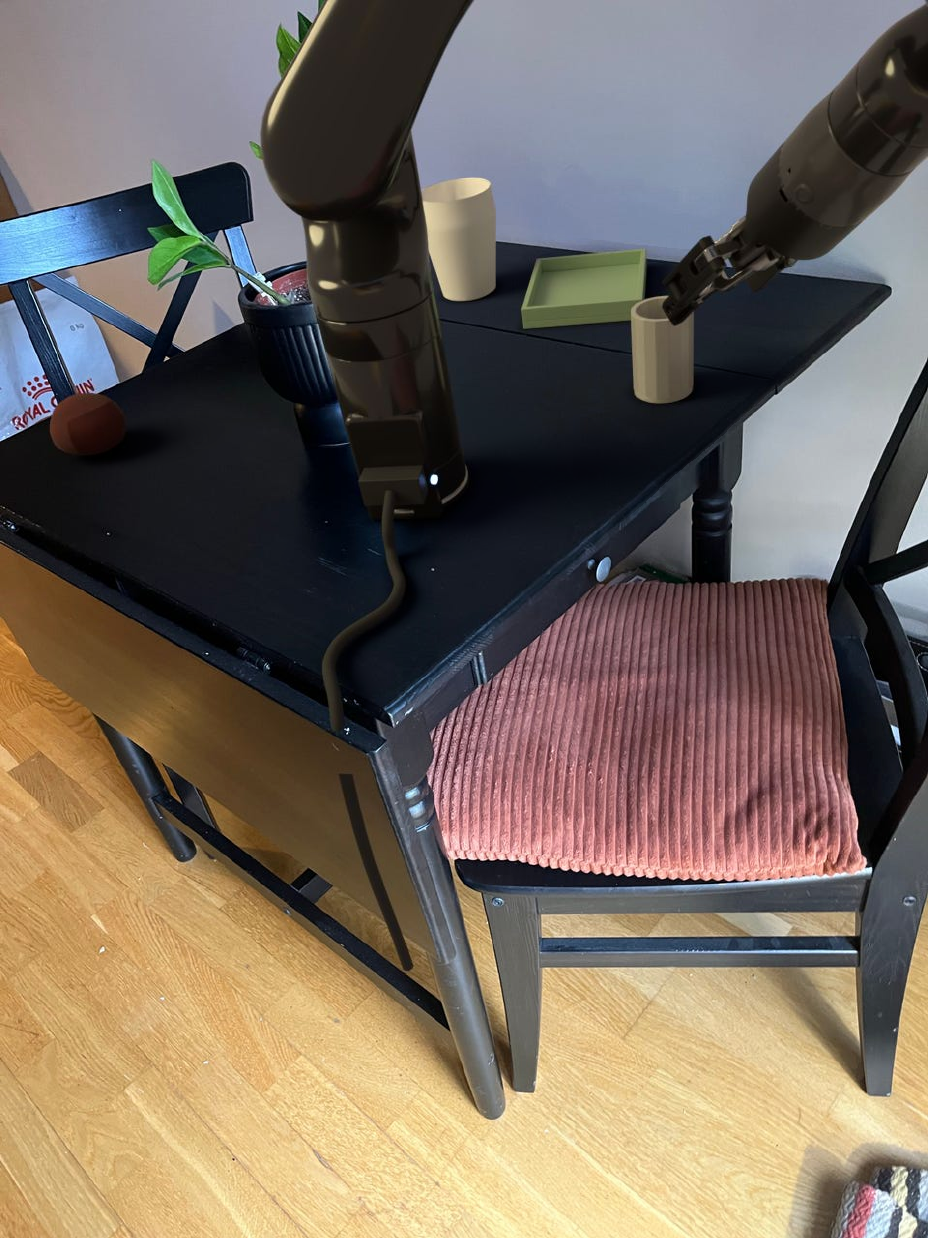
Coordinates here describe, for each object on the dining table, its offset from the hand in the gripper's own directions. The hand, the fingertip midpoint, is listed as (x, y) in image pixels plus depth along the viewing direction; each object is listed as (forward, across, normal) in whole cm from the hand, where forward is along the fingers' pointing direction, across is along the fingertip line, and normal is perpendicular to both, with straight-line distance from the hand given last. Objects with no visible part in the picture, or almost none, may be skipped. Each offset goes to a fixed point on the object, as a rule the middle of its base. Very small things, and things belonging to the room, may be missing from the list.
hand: (711, 297), depth 76 cm
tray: (+29, -8, -14) cm, 33 cm away
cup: (+39, 0, -24) cm, 45 cm away
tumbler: (+12, 0, +3) cm, 12 cm away
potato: (+35, +48, -20) cm, 63 cm away
